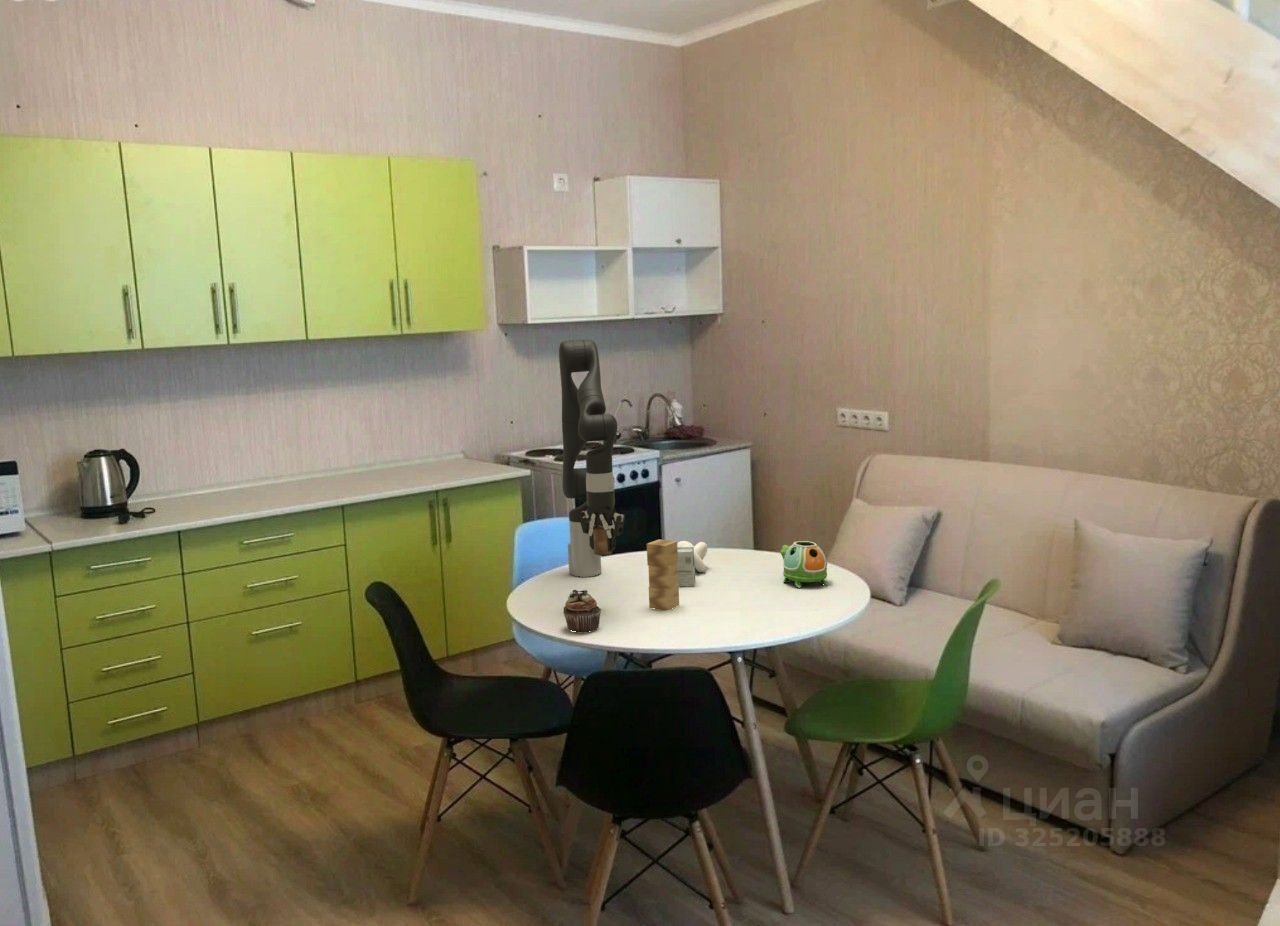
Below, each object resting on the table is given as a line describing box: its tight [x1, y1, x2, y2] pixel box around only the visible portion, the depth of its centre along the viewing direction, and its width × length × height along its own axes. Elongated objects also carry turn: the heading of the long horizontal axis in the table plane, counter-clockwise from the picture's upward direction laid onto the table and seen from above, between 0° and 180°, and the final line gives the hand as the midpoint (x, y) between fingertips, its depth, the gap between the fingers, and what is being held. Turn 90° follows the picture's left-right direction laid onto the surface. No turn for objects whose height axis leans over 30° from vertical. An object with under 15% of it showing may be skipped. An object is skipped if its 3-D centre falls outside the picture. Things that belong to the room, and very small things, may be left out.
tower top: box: [646, 539, 678, 568], centre depth 279 cm, size 6×6×6 cm
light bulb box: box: [677, 545, 696, 587], centre depth 303 cm, size 11×7×11 cm, turn 84°
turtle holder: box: [780, 540, 828, 589], centre depth 300 cm, size 12×18×12 cm
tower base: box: [648, 584, 680, 611], centre depth 280 cm, size 6×6×6 cm
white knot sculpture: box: [677, 540, 708, 573], centre depth 318 cm, size 11×12×9 cm
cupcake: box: [563, 589, 602, 633], centre depth 264 cm, size 10×10×10 cm
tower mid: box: [647, 564, 678, 589], centre depth 280 cm, size 6×6×6 cm
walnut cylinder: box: [593, 525, 613, 556], centre depth 278 cm, size 5×5×7 cm
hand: (602, 549), depth 279 cm, fingers closed on walnut cylinder, 4 cm apart
